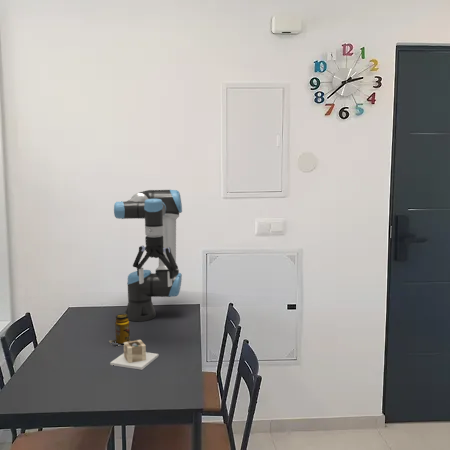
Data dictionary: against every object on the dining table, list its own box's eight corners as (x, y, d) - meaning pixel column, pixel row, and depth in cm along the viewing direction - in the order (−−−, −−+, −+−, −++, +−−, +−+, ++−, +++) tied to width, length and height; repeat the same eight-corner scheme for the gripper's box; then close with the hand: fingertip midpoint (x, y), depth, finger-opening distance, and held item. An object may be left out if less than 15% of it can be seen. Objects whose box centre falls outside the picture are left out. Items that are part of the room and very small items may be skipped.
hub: (128, 352, 219) (127, 335, 218) (158, 356, 214) (158, 339, 213) (110, 365, 206) (109, 347, 205) (142, 369, 201) (141, 352, 200)
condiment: (133, 342, 230) (132, 316, 228) (114, 346, 225) (113, 319, 223) (126, 337, 236) (125, 312, 234) (108, 341, 231) (107, 315, 229)
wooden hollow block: (124, 356, 211) (123, 342, 211) (141, 353, 214) (140, 339, 214) (128, 363, 205) (128, 347, 204) (146, 359, 208) (145, 344, 207)
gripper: (123, 235, 222) (125, 284, 225) (177, 238, 214) (178, 289, 217) (132, 232, 229) (134, 280, 232) (185, 235, 221) (185, 284, 224)
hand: (155, 284), depth 225 cm, fingers open, 13 cm apart
